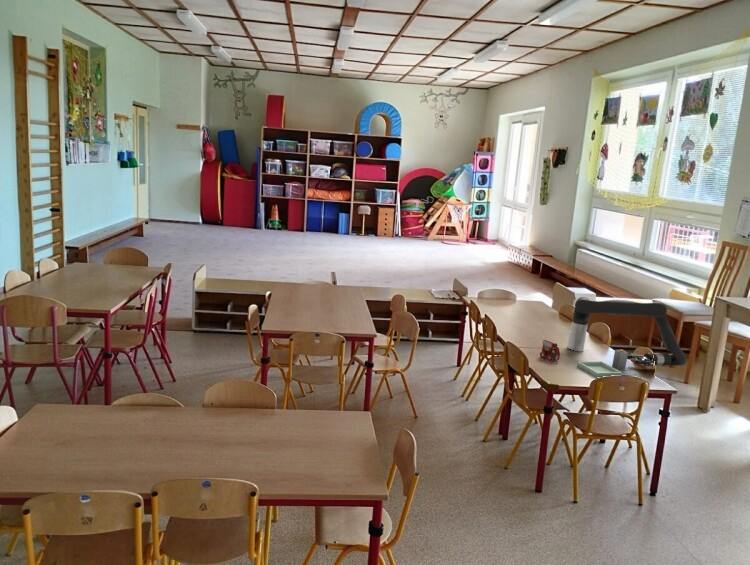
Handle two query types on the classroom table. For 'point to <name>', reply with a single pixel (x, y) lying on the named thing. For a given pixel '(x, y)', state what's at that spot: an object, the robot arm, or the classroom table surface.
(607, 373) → the green tray
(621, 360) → the block
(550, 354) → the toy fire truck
